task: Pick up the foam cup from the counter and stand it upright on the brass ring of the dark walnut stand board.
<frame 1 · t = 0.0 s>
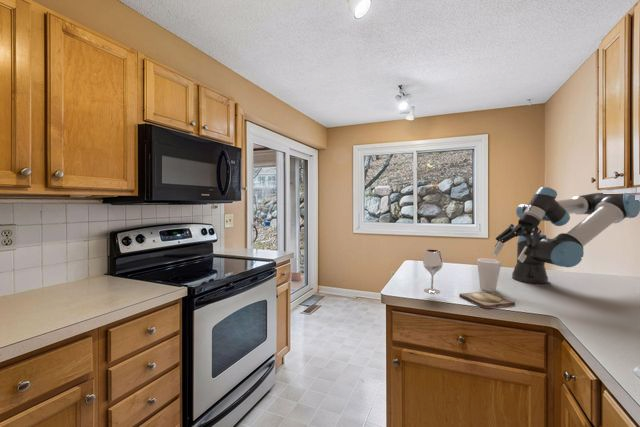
hand: (506, 257, 138), 15 cm above the table, tool tilted 35°, fingers open, 13 cm apart
wineglass: (431, 291, 139), on the table
foam cup: (487, 289, 143), on the table
stand board: (485, 300, 127), on the table
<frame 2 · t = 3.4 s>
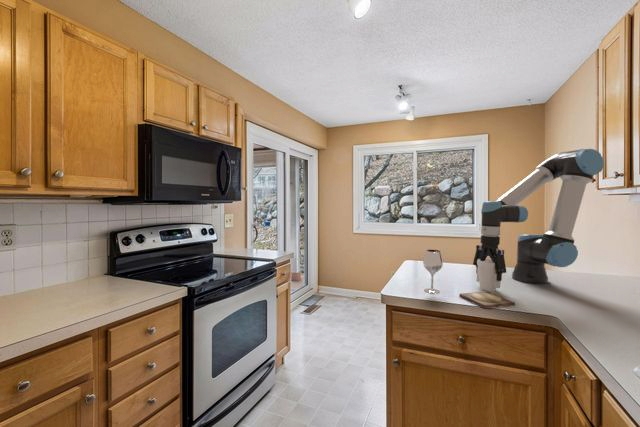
hand: (487, 284, 143), 2 cm above the table, tool pointing down, fingers closed on foam cup, 9 cm apart
foam cup: (487, 289, 143), on the table, touching gripper
everything else where it was.
when the fingers open (5 cm above the table, at t = 10.3 s): foam cup drops 1 cm, resting on stand board.
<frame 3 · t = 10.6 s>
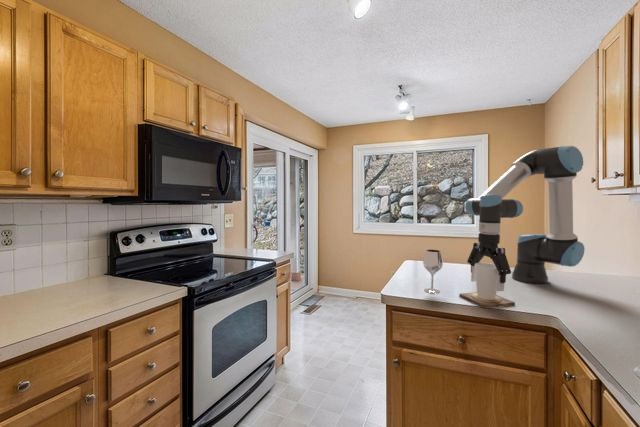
hand: (486, 285, 127), 6 cm above the table, tool pointing down, fingers open, 13 cm apart
foam cup: (486, 297, 127), point 1 cm above the table, touching stand board
everything else where it was.
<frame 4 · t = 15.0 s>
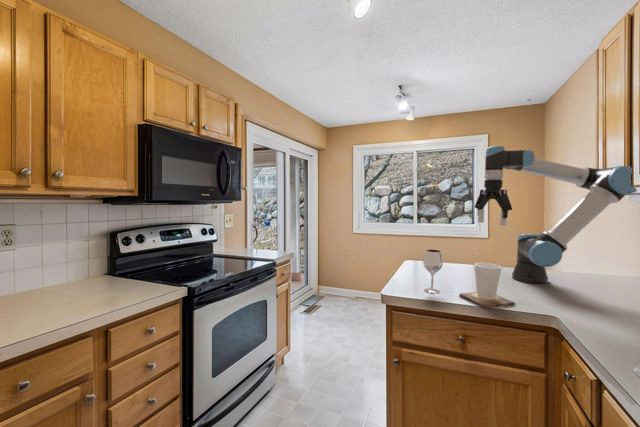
hand: (491, 224, 151), 29 cm above the table, tool pointing down, fingers open, 13 cm apart
nothing on the table moved.
at the end: foam cup inside the target area on the stand board (0.0 cm from its centre), point 1.3 cm above the stand board's base; foam cup tilted 0°; the gripper is holding nothing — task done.
